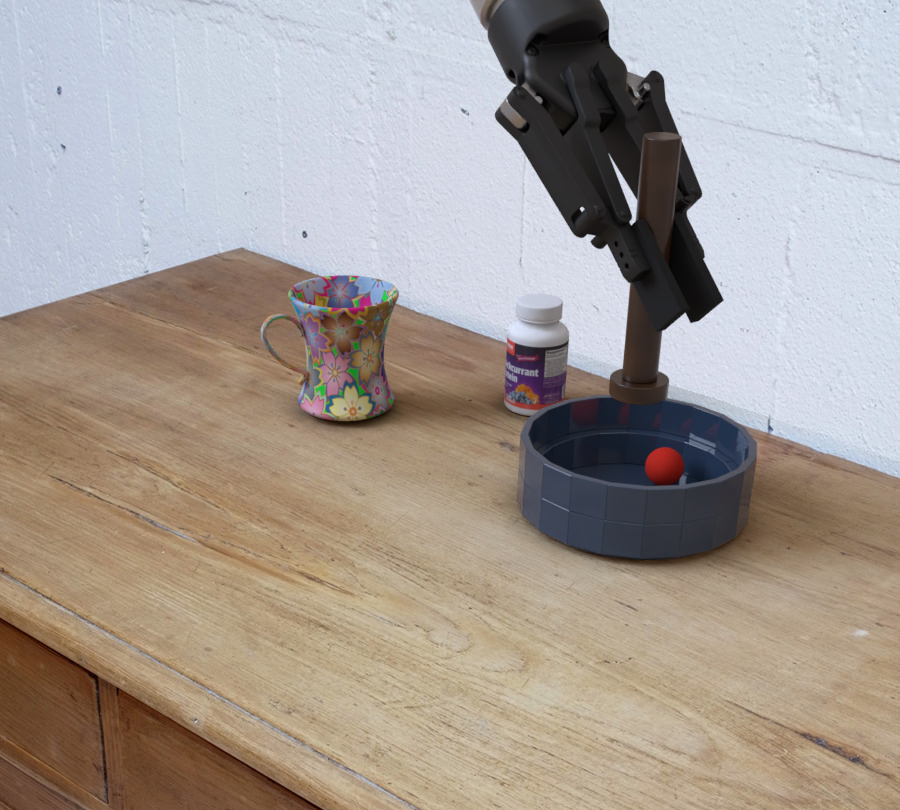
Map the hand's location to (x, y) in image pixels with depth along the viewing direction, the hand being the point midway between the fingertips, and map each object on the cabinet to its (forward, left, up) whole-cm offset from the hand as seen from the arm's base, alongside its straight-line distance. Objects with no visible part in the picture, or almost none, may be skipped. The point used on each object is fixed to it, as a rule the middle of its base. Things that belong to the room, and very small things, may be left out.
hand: (689, 315), depth 84 cm
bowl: (0, -8, -18) cm, 20 cm away
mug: (+22, -29, -18) cm, 41 cm away
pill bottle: (+4, -29, -18) cm, 35 cm away
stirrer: (+2, -3, -7) cm, 8 cm away
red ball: (-3, -11, -16) cm, 20 cm away
